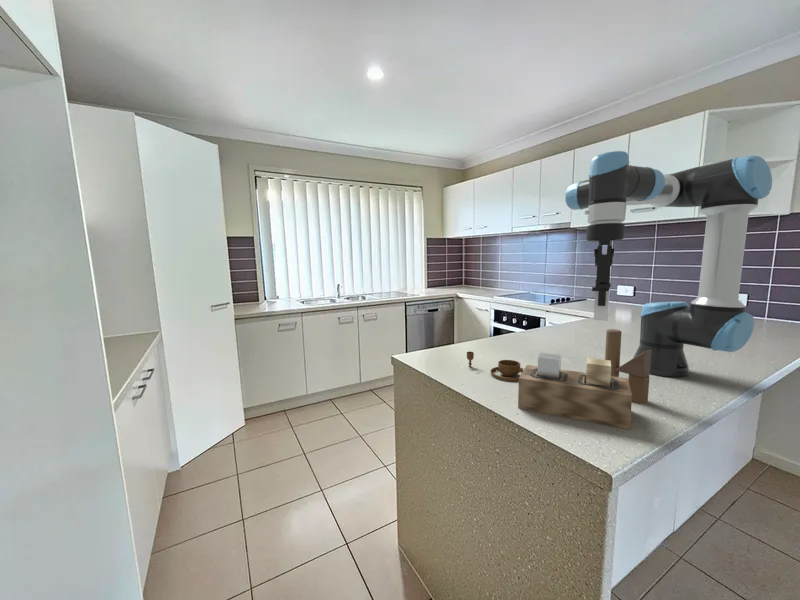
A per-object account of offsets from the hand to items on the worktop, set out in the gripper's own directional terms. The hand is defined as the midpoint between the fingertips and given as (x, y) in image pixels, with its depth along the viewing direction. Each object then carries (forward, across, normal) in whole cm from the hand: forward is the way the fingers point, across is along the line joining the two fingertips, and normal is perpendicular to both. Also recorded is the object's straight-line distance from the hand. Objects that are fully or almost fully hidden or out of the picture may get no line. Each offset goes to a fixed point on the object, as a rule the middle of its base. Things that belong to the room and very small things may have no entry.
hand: (600, 316), depth 80 cm
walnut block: (+24, 0, -5) cm, 25 cm away
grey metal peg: (+19, 0, -11) cm, 22 cm away
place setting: (+25, -20, -28) cm, 43 cm away
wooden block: (+25, -15, +7) cm, 30 cm away
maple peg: (+18, 0, 0) cm, 18 cm away
